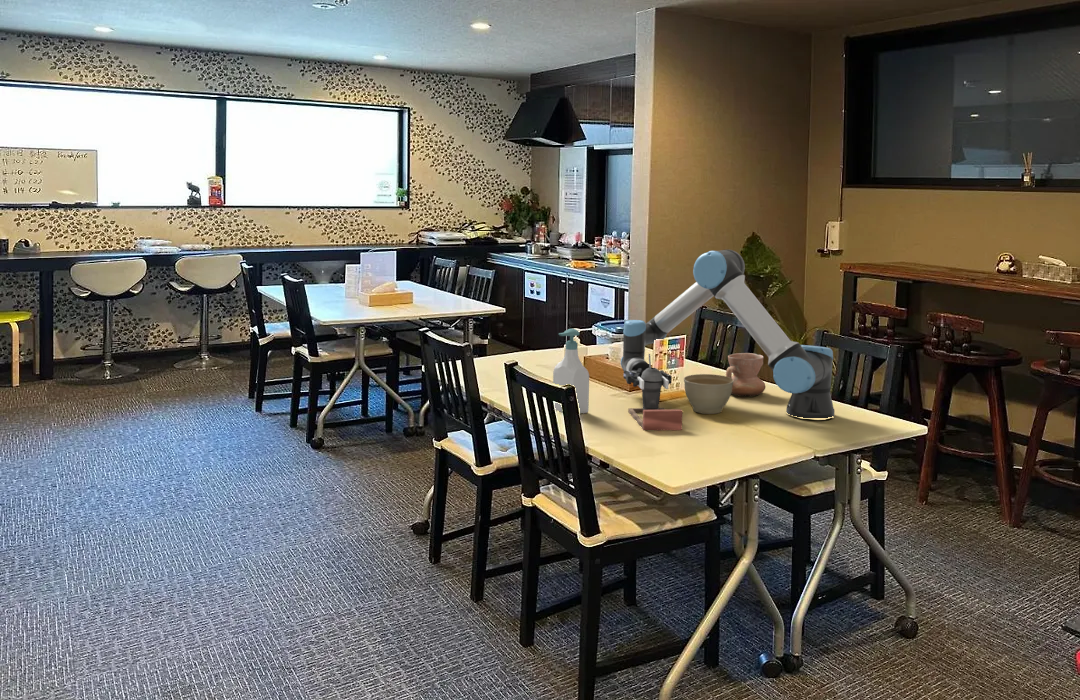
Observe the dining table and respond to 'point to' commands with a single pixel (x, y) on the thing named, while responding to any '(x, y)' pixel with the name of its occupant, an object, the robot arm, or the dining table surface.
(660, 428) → the brown tray
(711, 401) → the planter bowl
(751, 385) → the ceramic jug
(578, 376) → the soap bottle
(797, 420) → the dining table surface
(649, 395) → the beverage cup
